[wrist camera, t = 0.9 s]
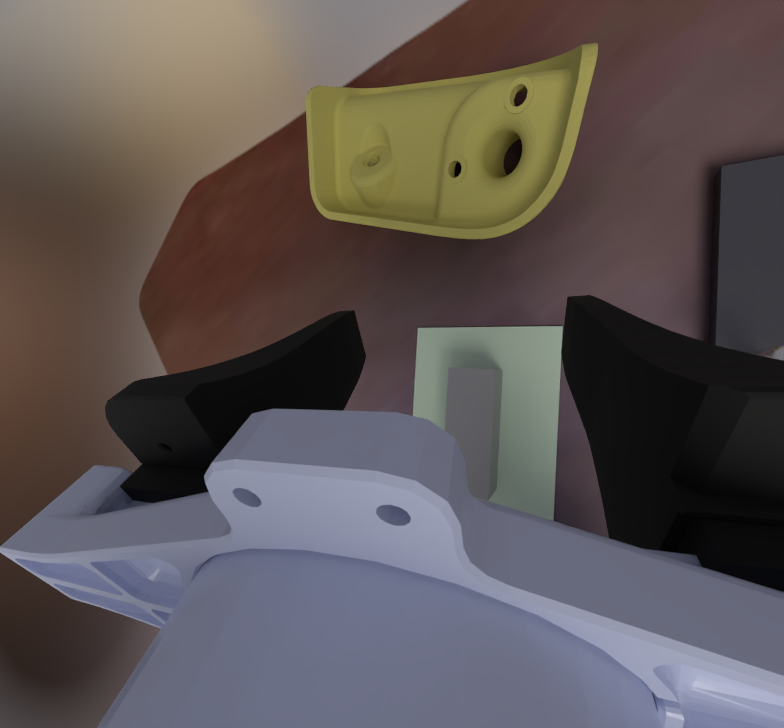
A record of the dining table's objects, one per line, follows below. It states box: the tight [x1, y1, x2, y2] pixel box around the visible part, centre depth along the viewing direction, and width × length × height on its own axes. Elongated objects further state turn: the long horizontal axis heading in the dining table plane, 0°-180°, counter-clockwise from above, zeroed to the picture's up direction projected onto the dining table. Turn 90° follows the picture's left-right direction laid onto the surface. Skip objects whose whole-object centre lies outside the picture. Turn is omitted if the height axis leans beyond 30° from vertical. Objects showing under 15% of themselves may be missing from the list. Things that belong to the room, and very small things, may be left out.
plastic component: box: [306, 43, 598, 239], centre depth 24 cm, size 20×7×10 cm
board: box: [413, 326, 563, 521], centre depth 23 cm, size 14×10×3 cm
